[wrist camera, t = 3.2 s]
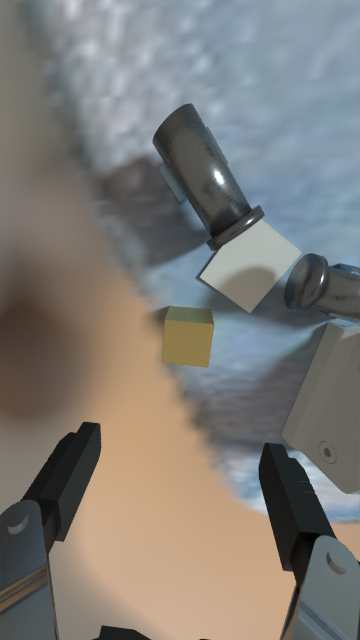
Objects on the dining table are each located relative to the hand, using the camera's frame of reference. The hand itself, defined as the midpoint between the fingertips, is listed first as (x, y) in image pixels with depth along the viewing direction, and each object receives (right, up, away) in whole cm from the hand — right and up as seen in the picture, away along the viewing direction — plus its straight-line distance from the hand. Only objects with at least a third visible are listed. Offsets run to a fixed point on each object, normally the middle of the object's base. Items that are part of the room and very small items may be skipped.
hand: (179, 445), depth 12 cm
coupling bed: (+7, +12, +12) cm, 18 cm away
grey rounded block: (+18, -2, +17) cm, 25 cm away
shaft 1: (+2, +18, +10) cm, 21 cm away
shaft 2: (+15, +9, +13) cm, 22 cm away
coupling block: (+1, +5, +15) cm, 16 cm away
